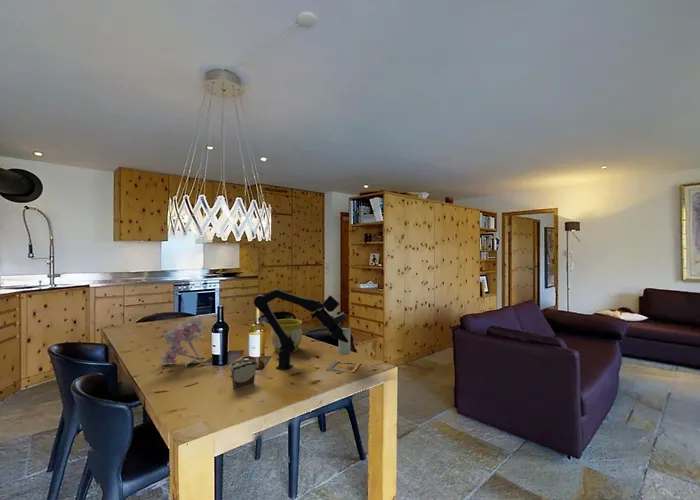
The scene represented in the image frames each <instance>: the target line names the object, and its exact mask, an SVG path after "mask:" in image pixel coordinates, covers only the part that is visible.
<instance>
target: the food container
mask: <svg viewBox="0 0 700 500" xmlns="http://www.w3.org/2000/svg"><path fill="white" fill-rule="evenodd" d="M257 362H258V361H257V360H256V359H251V358H250V359H249V358H248V359H239V360H235V361H233V362H231V363H230V366H229V371H230V372H231V379H232V389H233V390H234V391H237V390H240V389H243V388H246V387H248V386H252V385H254V384H255V380H256V366H258V363H257Z"/></svg>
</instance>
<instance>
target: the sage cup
mask: <svg viewBox="0 0 700 500" xmlns="http://www.w3.org/2000/svg"><path fill="white" fill-rule="evenodd" d="M342 329H343V334H344V335H345V337H346V338H347V340H348V342H347V343H346V342H344V341H341V340H338V345H337V346H338V350H337V351H338V354H339V355H340V356H348V355H350V354H351V330H352V329H350V328H348V327H347V328H346V327H342Z"/></svg>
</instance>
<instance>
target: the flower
mask: <svg viewBox="0 0 700 500" xmlns="http://www.w3.org/2000/svg"><path fill="white" fill-rule="evenodd" d="M200 318H201V316H200V315H199V317H198V318H196V317H195V318H194V317H192V318H191V319H190V321H188V322H183V323H182V327H179V326H178V327H175V328H173V329H172V330H171V329H169V330H168V331H167V332H164V337H162V338H163V340H165V344H166V345H170V346H168V350H167V351H166V352H165V355H162V356H160V358H159V359H160V360H161V361H160V362H159V363H160V364H161V365H162V364H165V366H167V365H169V364H176V362H177V359H176V358H177V357H178V356H182V357H188V358H191V360H187V361H185V362H184V366H185V368H187V366H188V365H190V364H193V363H195V362H196V363H197V362H204V360H203V359H201V357H200V355H199V354H198V352H197V350H196V349H195V347H194V345H193V343H192V342H193V341H196V342H198V341H197V340H198V339H197V338H203V339H205V336H204V335H203V334H202V330H201V327H200V326H201V325H202V323H203V322H202V321H203V319H200ZM194 333H196V334H194ZM182 341H184V342H185V343H187V344H188V346H189V347H190V348H191V349H192V352H194V355H195V356H193V355H191V354H190V352H189V351H188V350H187V349H185V346H182V344H181V342H182Z"/></svg>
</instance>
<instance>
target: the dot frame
mask: <svg viewBox="0 0 700 500" xmlns="http://www.w3.org/2000/svg"><path fill="white" fill-rule="evenodd" d="M340 361H341V360H334V361H332V363H331V364H330V365H329V366H328V367H327V368H326V370H325V371H328V370H333V371H332V372H338V371H341V370H342V369H341V370H340V369H339V368H335V366H336V365H337V364H342V363H341V362H340ZM337 362H339V363H337ZM336 363H337V364H336Z"/></svg>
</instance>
